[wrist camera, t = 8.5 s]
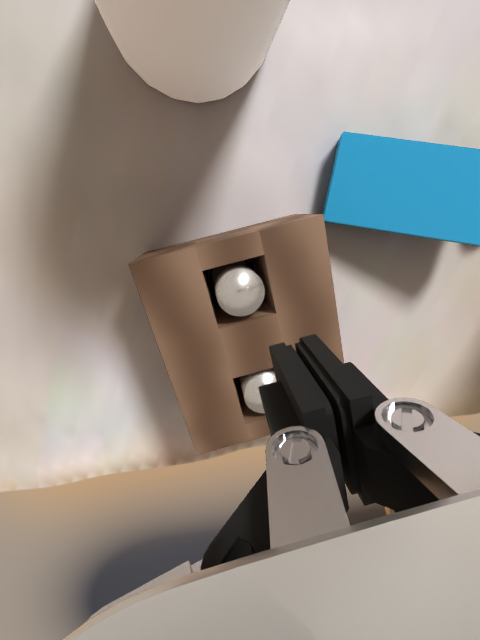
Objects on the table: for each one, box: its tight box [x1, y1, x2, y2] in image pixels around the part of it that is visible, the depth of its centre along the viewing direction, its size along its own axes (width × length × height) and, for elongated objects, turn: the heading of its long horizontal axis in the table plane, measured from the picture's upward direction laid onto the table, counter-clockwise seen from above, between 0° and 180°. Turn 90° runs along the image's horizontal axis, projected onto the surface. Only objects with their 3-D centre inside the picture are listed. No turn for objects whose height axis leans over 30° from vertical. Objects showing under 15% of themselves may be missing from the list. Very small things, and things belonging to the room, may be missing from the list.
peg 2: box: [239, 368, 276, 413], centre depth 30 cm, size 4×4×7 cm
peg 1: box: [212, 260, 265, 316], centre depth 27 cm, size 4×4×7 cm
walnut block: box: [129, 214, 344, 455], centre depth 28 cm, size 14×17×7 cm
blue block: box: [323, 132, 480, 246], centre depth 29 cm, size 7×7×18 cm
